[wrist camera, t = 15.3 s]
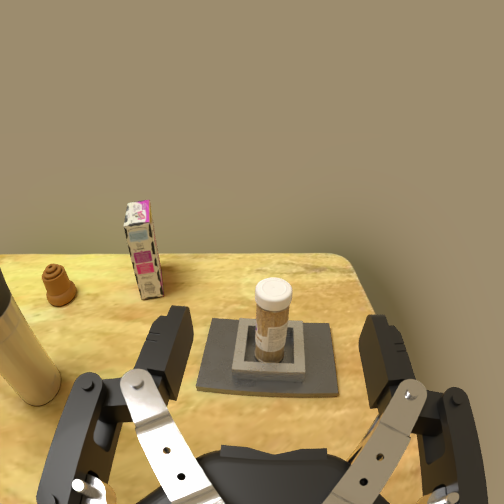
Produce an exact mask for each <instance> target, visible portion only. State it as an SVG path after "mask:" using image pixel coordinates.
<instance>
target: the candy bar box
mask: <svg viewBox="0 0 504 504" xmlns="http://www.w3.org/2000/svg"><path fill="white" fill-rule="evenodd" d="M124 229H125V233H126V239H127V243H128V247H129V252H130V257H131V261H132V264H133V269H134V273H135V276H136V280H137V284H138V288H139V292H140V295H141V299H142V300H145V299H151V298H158V297H163V296H164V291H163V282H162V273H161V265H160V260H159V255H158V249H157V244H156V238H155V232H154V226H153V219H152V213H151V206H150V200H144V201H138V202H133V203H128V205H127V210H126V216H125V222H124Z"/></svg>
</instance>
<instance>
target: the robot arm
mask: <svg viewBox="0 0 504 504" xmlns="http://www.w3.org/2000/svg"><path fill="white" fill-rule="evenodd" d="M193 335H194V332H193V325H192V320H191V315H190V310H189V307H185V306H174V305H172V306H171V308H170V310H169V312H168V315H167V316H159V317H158V318H157V319H156V320H155V321H154V322H153V324H152V326H151V328H150V331H149V334H148V335H147V338H146V341H145V343H144V345H143V347H142V350H141V352H140V355H139V357H138V360H137V362H136V365H135V367H134V369H133V370H130V371H128V372H126V373H125V374H124V375H123V377H121V378H115V379H103V380H102V379H101V378H100V376H99V375H97V374H96V373H92V372H87V373H84V374H82V375H80V376H79V377H78V378H77V379H76V381H75V382H74V385H73V387H72V390H71V392H70V395H69V397H68V400H67V402H66V405H65V407H64V410H63V413H62V415H61V418H60V421H59V423H58V426H57V429H56V432H55V435H54V438H53V441H52V444H51V447H50V450H49V453H48V456H47V459H46V462H45V466H44V469H43V473H42V476H41V480H40V483H39V487H38V491H37V496H36V500H37V504H116V494H115V492H114V490H113V488H112V487H111V486H109V485H108V480H109V475H110V471H111V467H112V462H113V458H114V454H115V450H116V446H117V442H118V438H119V434H120V431H121V427H122V423H123V422H134V423H135V426H136V428H135V431H136V433H137V436H138V438H139V440H140V443H141V445H142V447H143V449H144V451H145V453H146V456H147V458H148V460H149V462H150V464H151V466H152V468H153V470H154V472H155V474H156V476H157V477H158V479H159V481H160V483H161V486H160V487H158V488H157V489H156V490H154V491H153V492H152V493H150V494H149V495H147V496H146V497H145V498H143V499H142V500H140V501H139V502H137V503H136V504H390V503H389V502H387V501H386V500H385V499H384V498H383V497H382V496H381V495H380V494H379V493H380V492H381V490H382V489H383V487H384V486H385V484H386V483H387V481H388V479H389V478H390V476H391V474H392V473H393V471H394V469H395V468H396V466H397V464H398V462H399V461H400V459H401V457H402V455H403V453H404V452H405V450H406V448H407V446H408V444H409V442H410V439H411V437H409V436H410V433H414V434H417V440H418V448H419V456H420V466H421V476H422V490H423V497H421V498H420V499H419V500H418V502H417V503H416V504H488V496H487V487H486V479H485V473H484V466H483V459H482V454H481V449H480V444H479V439H478V434H477V430H476V426H475V422H474V417H473V414H472V410H471V406H470V403H469V399H468V396H467V394H466V393H465V392H464V391H463V390H462V389H460V388H457V387H451V388H449V389H447V390H446V391H445V393H439V392H433V391H429V390H426V388H425V387H424V385H423V384H422V383H421V382H419V381H417V380H416V379H415V376H414V373H413V369H412V366H411V363H410V360H409V357H408V354H407V352H406V348H405V345H404V342H403V339H402V336H401V333H400V332H399V331H398V330H397V329H396V327H395V326H389V325H388V323H387V319H386V317H385V315H368V316H367V318H366V321H365V324H364V327H363V329H362V332H361V335H360V338H359V352H360V357H361V362H362V367H363V372H364V377H365V383H366V388H367V394H368V400H369V406H370V409H373V408H378V412H379V414H378V415H377V417H376V419H375V420H374V422H373V423H372V425H371V427H370V428H369V430H368V431H367V433H366V434H365V436H364V437H363V439H362V440H361V442H360V443H359V445H358V446H357V447H356V449H355V450H354V451H353V453H352V454H351V455H350V456H349V458H348V459H347V460H346V461H345V460H343V459H341V458H339V457H336V456H333V455H330V454H327V448H322V449H299V450H295V451H291V452H286V453H281V454H276V455H273V454H269V453H265V452H262V451H258V450H255V449H251V448H248V447H237V446H227V445H221V450H219V451H213V452H209V453H206V454H204V455H201V456H199V457H198V458H196V459H195V457H194V456H193V454H192V452H191V451H190V449H189V447H188V446H187V444H186V442H185V440H184V439H183V437H182V435H181V433H180V432H179V430H178V428H177V426H176V424H175V422H174V421H173V419H172V417H171V415H170V413H169V411H168V409H167V405H168V401H169V400H175V401H177V397H178V393H179V389H180V386H181V382H182V378H183V375H184V371H185V368H186V364H187V360H188V357H189V353H190V350H191V346H192V343H193ZM0 374H1V375H2V376H3V378H4V379H5V380H6V381H7V382H8V383H9V385H10V386H11V387H12V388H13V389H14V390H15V391H16V392H17V394H18V395H19V396H20V397H21V398H22V399H23V400H24V401H25V402H26V403H28V404H30V405H33V406H40V405H44V404H46V403H48V402H49V401H50V400H52V399H53V398H54V396H55V395H56V394H57V392H58V390H59V387H60V383H61V376H60V373H59V371H58V369H57V368H56V366H55V365H54V363H53V362H52V361H51V359H50V358H49V356H48V355H47V353H46V352H45V350H44V349H43V347H42V346H41V344H40V343H39V341H38V339H37V338H36V336H35V335H34V333H33V331H32V330H31V328H30V326H29V325H28V323H27V321H26V320H25V318H24V316H23V314H22V313H21V311H20V309H19V307H18V306H17V304H16V302H15V300H14V298H13V296H12V294H11V292H10V290H9V288H8V286H7V284H6V282H5V279H4V277H3V274H2V271H1V269H0Z"/></svg>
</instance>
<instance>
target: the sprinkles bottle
mask: <svg viewBox="0 0 504 504" xmlns="http://www.w3.org/2000/svg"><path fill="white" fill-rule="evenodd" d="M255 300H256V303H257V312H256V334H255V342H256V348H255V357H256V359H257V360H258V361H259V362H265V363H279V362H280V361H281V360H282V359H283V357H284V345H285V341H286V334H287V326H288V314H289V305H290V303H291V300H292V287H291V285H290V284H289V283H288V282H287V281H285V280H283V279H280V278H266V279H263V280H261V281H260V282H259V283H258V284H257V286H256V289H255Z"/></svg>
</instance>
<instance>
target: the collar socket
mask: <svg viewBox="0 0 504 504" xmlns="http://www.w3.org/2000/svg"><path fill="white" fill-rule="evenodd" d="M255 334H256V319H245V318H240V319H239V320H232V319H218V318H212V322H211V326H210V330H209V334H208V338H207V342H206V346H205V350H204V354H203V358H202V363H201V367H200V371H199V375H198V379H197V384H196V388H197V390H198V391H206V392H215V393H225V394H236V395H249V396H266V397H337V394H338V387H337V378H336V370H335V362H334V354H333V347H332V340H331V333H330V326H329V323H303V321H288V326H287V334H286V341H285V345H284V357H283V359H282V360H281V361H280V362H279V363H265V362H259V361H258V360H257V359H256V357H255V348H256V342H255Z"/></svg>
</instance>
